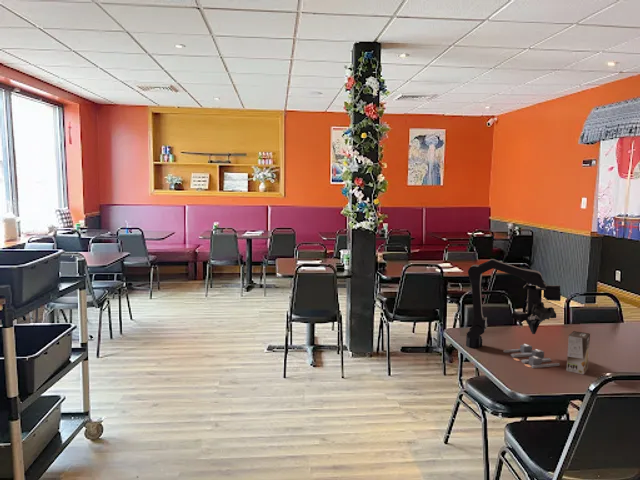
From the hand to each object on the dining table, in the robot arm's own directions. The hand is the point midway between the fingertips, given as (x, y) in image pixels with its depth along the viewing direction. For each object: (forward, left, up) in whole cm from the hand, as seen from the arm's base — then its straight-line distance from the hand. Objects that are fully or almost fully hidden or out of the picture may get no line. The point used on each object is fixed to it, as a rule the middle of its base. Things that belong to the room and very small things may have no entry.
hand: (533, 333), depth 206 cm
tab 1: (-1, +3, -10) cm, 10 cm away
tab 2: (-1, -4, -10) cm, 10 cm away
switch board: (-4, -4, -11) cm, 12 cm away
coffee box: (+6, -19, -11) cm, 23 cm away
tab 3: (-8, -12, -10) cm, 17 cm away
